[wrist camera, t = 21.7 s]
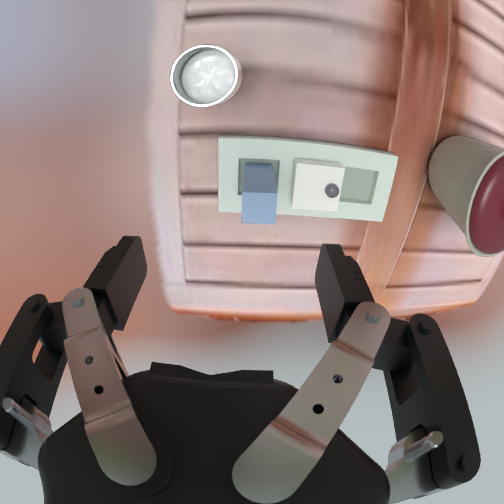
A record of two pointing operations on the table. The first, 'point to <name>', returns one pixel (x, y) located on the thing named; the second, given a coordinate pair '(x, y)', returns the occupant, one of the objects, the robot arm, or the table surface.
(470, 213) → the canister
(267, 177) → the peg
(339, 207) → the board
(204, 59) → the beer glass
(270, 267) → the table surface
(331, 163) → the lid
